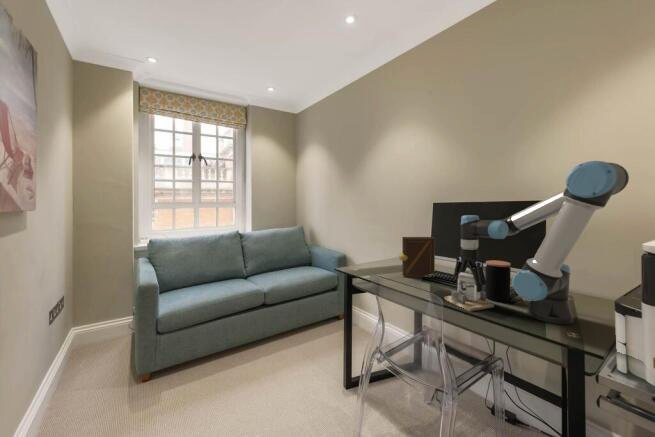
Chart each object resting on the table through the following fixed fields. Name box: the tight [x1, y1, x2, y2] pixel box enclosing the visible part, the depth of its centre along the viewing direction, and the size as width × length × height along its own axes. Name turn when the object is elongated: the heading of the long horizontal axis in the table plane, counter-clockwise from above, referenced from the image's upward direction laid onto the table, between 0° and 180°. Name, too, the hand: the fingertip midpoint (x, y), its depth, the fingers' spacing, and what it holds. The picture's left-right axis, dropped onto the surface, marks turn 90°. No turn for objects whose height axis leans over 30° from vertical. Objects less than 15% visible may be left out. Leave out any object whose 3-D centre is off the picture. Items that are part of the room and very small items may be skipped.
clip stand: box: [444, 290, 495, 312], centre depth 136 cm, size 16×14×6 cm
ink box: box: [457, 271, 479, 301], centre depth 136 cm, size 9×5×12 cm, turn 51°
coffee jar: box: [484, 259, 512, 303], centre depth 141 cm, size 11×11×18 cm
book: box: [398, 236, 436, 279], centre depth 184 cm, size 22×8×25 cm, turn 82°
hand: (468, 295), depth 136 cm, fingers closed on ink box, 9 cm apart
